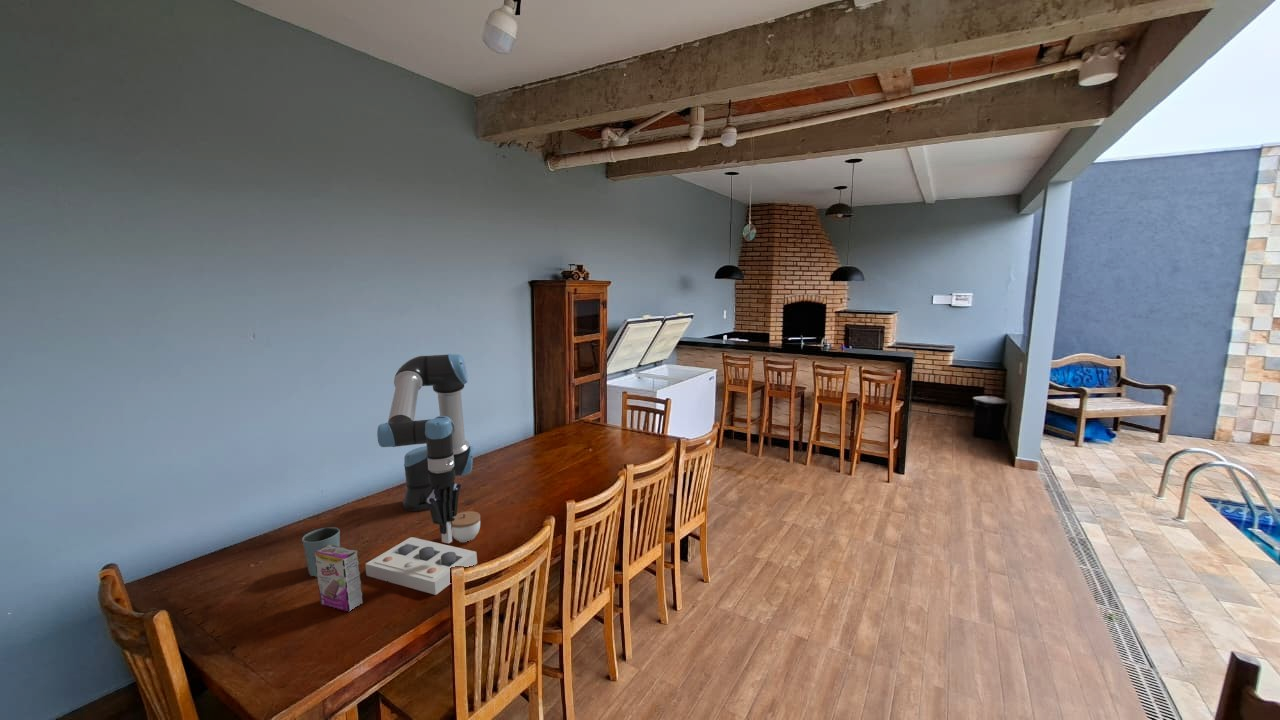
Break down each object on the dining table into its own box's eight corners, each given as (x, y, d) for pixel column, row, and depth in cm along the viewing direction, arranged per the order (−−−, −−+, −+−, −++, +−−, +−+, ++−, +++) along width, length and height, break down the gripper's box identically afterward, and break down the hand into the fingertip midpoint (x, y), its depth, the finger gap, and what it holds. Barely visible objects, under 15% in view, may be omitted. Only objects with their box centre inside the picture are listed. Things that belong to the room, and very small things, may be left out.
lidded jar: (471, 547, 173) (469, 521, 172) (443, 544, 175) (441, 519, 174) (487, 532, 184) (485, 508, 182) (460, 529, 186) (458, 505, 184)
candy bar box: (319, 606, 142) (312, 552, 140) (335, 595, 147) (329, 543, 144) (349, 613, 139) (343, 558, 136) (364, 603, 143) (358, 549, 141)
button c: (448, 559, 161) (447, 550, 160) (459, 562, 159) (458, 553, 159) (438, 566, 157) (437, 557, 156) (449, 569, 155) (448, 560, 155)
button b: (427, 554, 164) (426, 545, 164) (437, 556, 163) (436, 548, 162) (416, 561, 160) (415, 552, 160) (427, 563, 158) (426, 554, 158)
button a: (406, 552, 168) (405, 543, 167) (416, 554, 166) (415, 546, 166) (395, 558, 164) (395, 550, 163) (406, 561, 162) (405, 552, 162)
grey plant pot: (304, 581, 154) (299, 545, 152) (308, 565, 163) (304, 531, 161) (342, 572, 159) (338, 537, 157) (344, 557, 168) (340, 523, 166)
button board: (412, 547, 173) (410, 535, 173) (477, 563, 163) (476, 550, 162) (366, 575, 157) (365, 562, 156) (435, 595, 146) (434, 580, 146)
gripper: (435, 478, 146) (441, 553, 149) (466, 463, 158) (471, 534, 161) (415, 474, 149) (421, 549, 152) (447, 461, 161) (452, 530, 164)
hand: (447, 541), depth 156 cm, fingers closed
